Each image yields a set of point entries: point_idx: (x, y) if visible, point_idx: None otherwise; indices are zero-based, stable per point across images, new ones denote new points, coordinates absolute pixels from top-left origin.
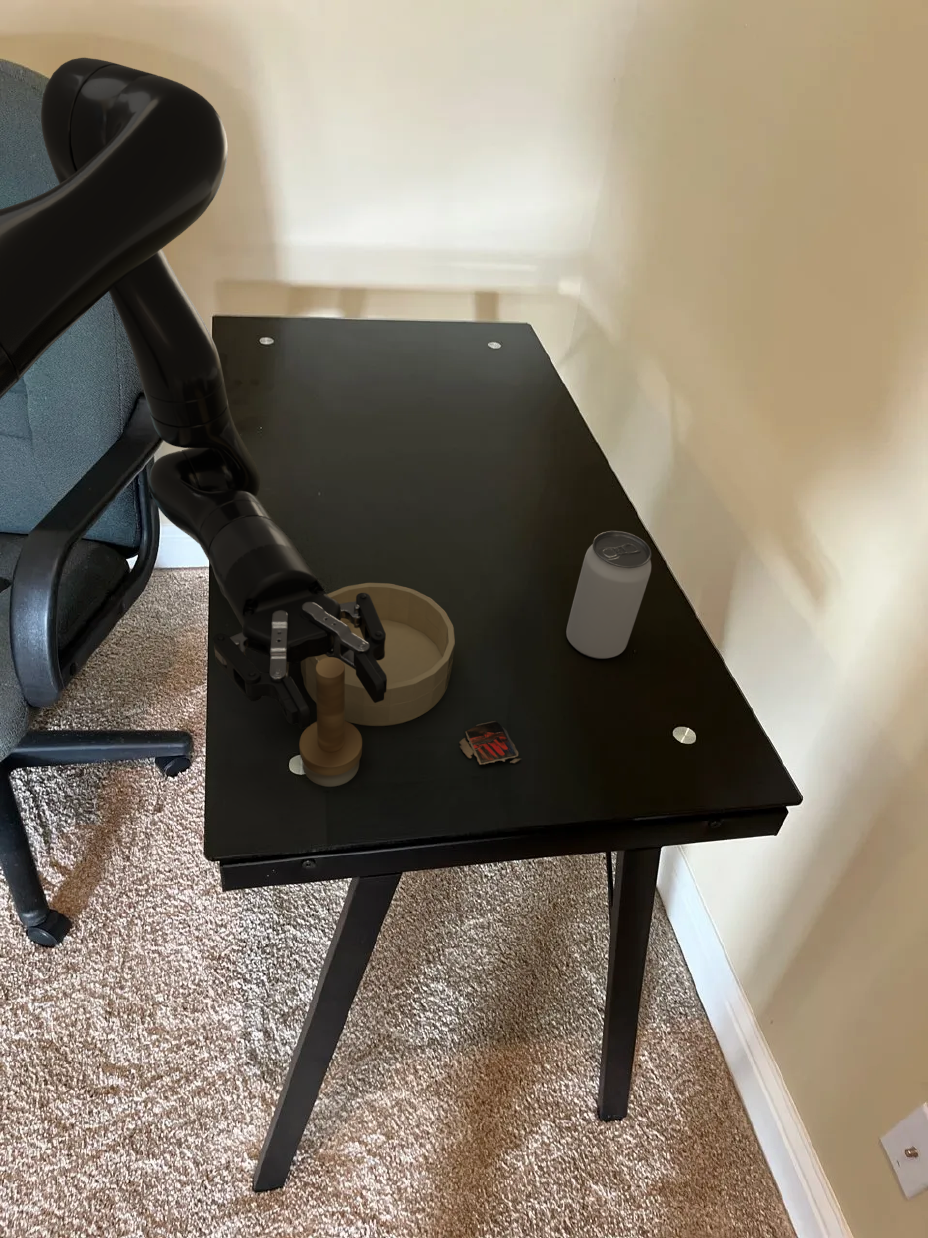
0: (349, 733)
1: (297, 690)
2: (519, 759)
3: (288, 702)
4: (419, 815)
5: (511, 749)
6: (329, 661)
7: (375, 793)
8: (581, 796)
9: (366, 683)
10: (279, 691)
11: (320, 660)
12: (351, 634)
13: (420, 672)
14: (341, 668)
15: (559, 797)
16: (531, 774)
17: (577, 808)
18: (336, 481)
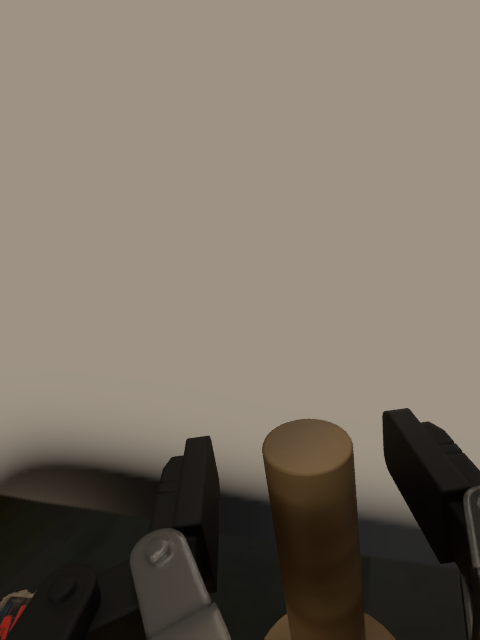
0: None
1: (415, 448)
2: (13, 593)
3: (441, 446)
4: (218, 553)
5: (2, 612)
6: (302, 459)
7: (267, 616)
8: (15, 519)
9: (214, 503)
10: (476, 473)
11: (331, 468)
12: (155, 627)
13: None
14: (275, 436)
15: (37, 525)
16: (26, 568)
17: (37, 507)
18: None
